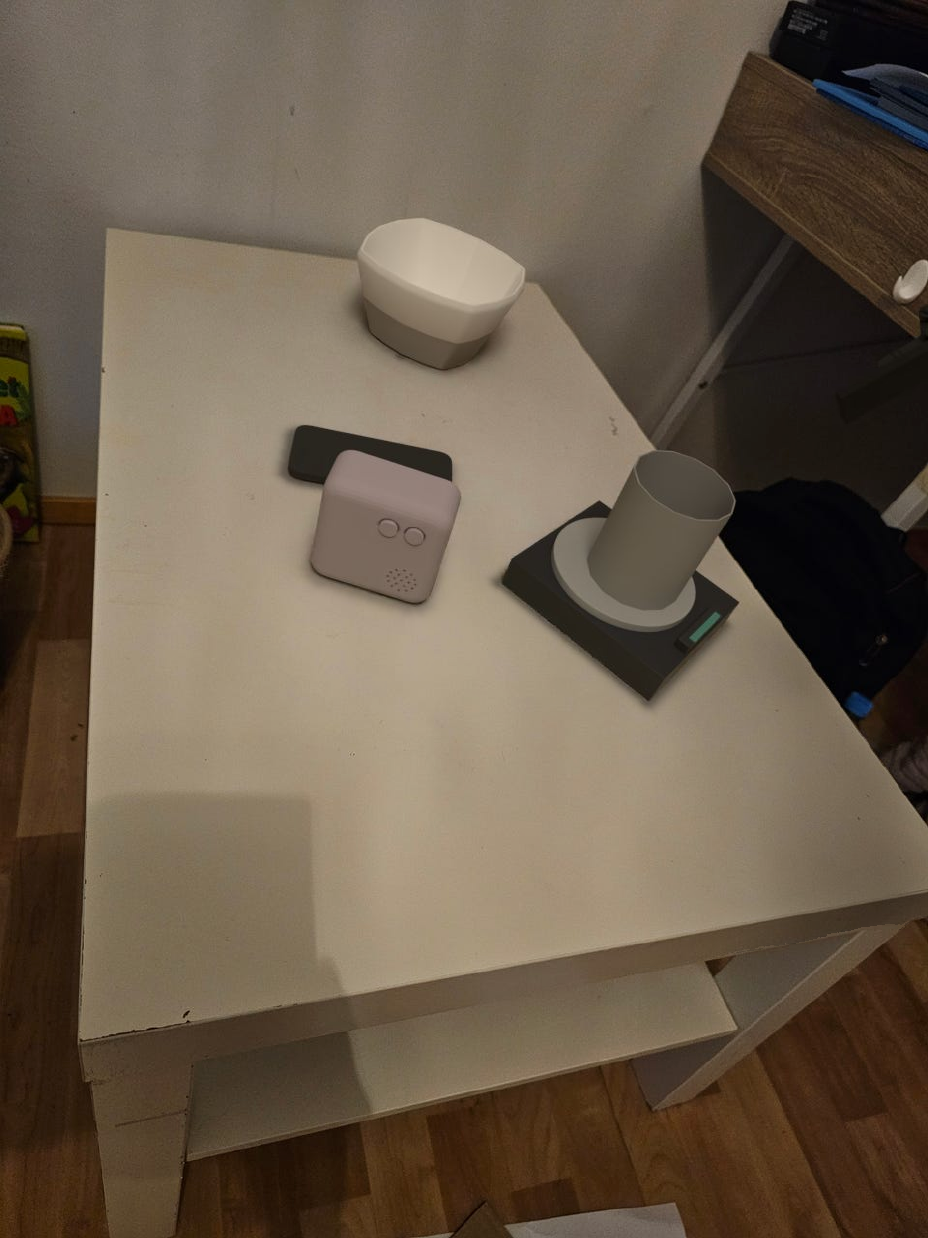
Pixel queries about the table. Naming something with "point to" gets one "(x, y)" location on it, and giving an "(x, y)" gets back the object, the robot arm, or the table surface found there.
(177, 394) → the table surface
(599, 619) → the scale
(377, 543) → the electronic device
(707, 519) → the cup
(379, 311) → the bowl
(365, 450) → the phone
